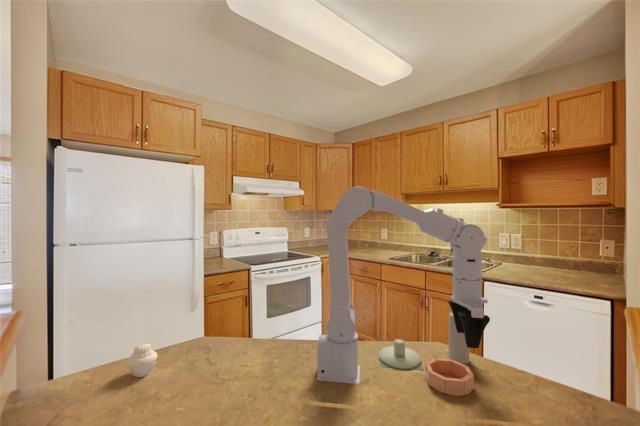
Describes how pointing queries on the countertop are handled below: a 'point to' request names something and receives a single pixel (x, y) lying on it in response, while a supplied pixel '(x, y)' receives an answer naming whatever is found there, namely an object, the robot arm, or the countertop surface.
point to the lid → (399, 356)
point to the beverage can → (457, 343)
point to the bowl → (449, 377)
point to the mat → (393, 367)
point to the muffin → (142, 360)
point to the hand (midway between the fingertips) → (467, 339)
